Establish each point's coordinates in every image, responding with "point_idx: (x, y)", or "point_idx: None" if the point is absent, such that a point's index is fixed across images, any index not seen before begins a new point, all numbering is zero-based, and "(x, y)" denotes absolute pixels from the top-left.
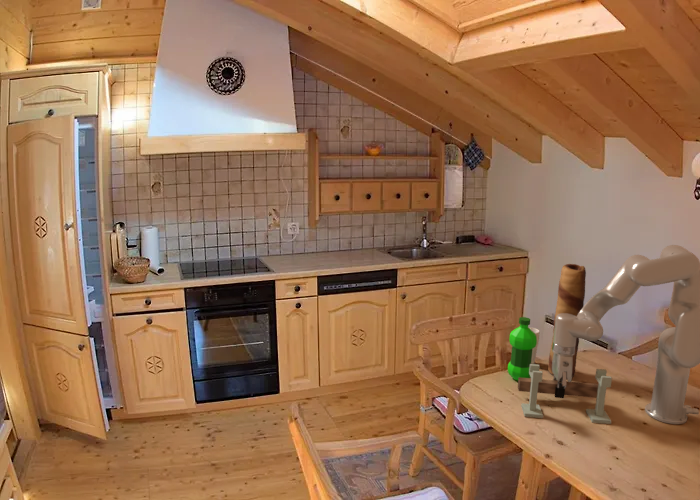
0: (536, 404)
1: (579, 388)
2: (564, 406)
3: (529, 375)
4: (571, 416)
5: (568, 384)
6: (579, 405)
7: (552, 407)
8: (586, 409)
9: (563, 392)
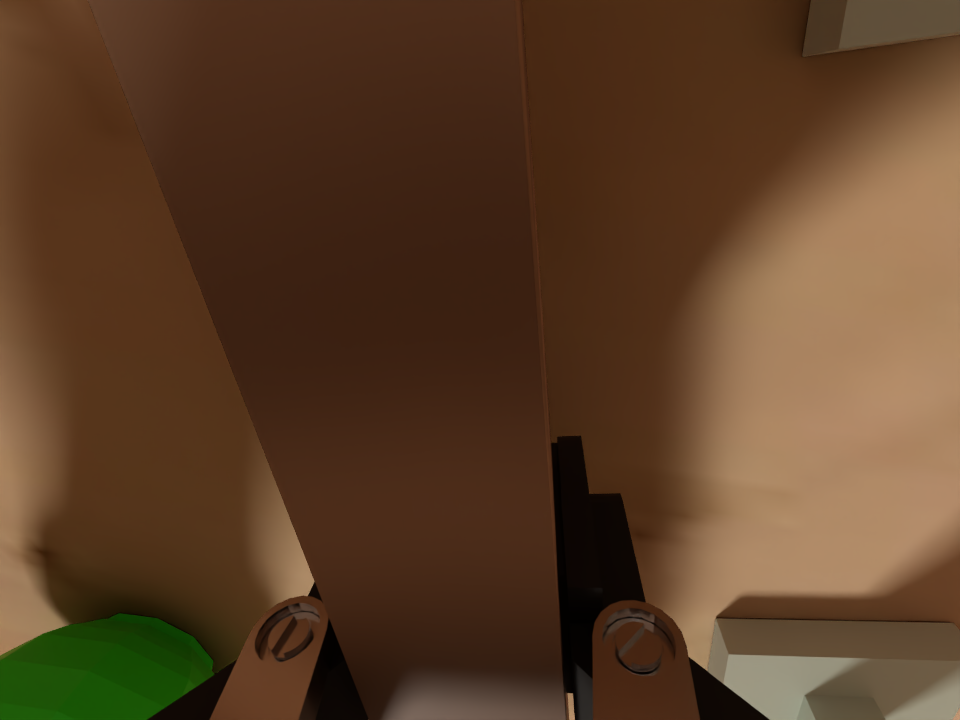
0: (727, 671)
1: (534, 243)
2: (644, 375)
3: (147, 700)
4: (948, 332)
5: (512, 584)
6: (570, 147)
7: (691, 505)
8: (845, 49)
9: (593, 520)
